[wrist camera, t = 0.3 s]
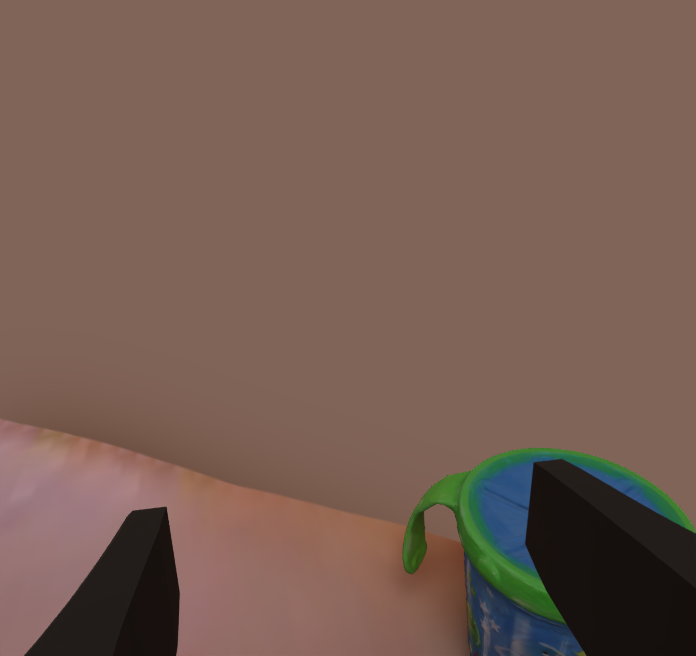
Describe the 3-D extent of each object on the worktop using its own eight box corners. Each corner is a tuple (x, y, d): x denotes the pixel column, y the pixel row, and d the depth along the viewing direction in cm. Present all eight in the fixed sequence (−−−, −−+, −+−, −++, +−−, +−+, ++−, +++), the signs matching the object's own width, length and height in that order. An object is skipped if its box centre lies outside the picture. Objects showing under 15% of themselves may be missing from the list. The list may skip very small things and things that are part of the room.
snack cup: (359, 661, 33) (369, 505, 29) (448, 543, 41) (466, 408, 37) (687, 865, 25) (767, 693, 21) (718, 670, 33) (780, 518, 29)
